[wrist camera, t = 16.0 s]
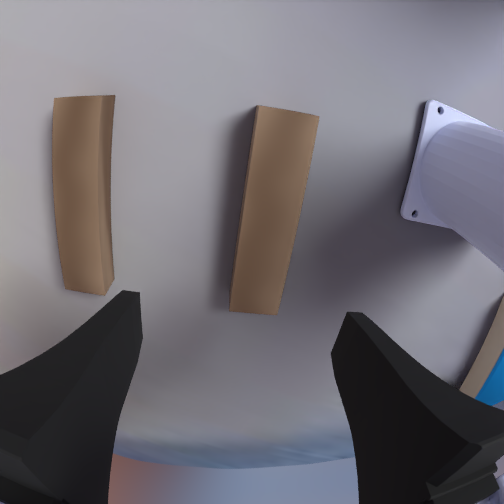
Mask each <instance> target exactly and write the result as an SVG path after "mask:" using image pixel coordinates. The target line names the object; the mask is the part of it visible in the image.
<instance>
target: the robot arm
mask: <svg viewBox="0 0 504 504" xmlns="http://www.w3.org/2000/svg"><path fill="white" fill-rule="evenodd" d="M438 107H440V113H438V110H437V109H438ZM414 210H416V212H415V214H414V215H412V212H413V211H414ZM400 214H401V216H402V217H403V218H404V219H406V220H411V221H416V222H421V223H426V224H431V225H436V226H441V227H445V228H450V229H453V230H454V231H455V232H457V233H458V234H459V235H461V236H462V237H463V238H464V239H466V240H467V241H468V242H469V243H471V244H472V245H473V246H474V247H476V248H477V249H478V250H479V251H480V252H482V253H483V254H484V255H485V256H486V257H488V258H489V259H490V260H491V261H492V262H493V263H495V264H496V265H497V266H498V267H499V268H500V269H501V270H503V271H504V131H502V130H499V129H495V128H492V127H490V126H488V125H486V124H485V123H483V122H481V121H479V120H477V119H475V118H473V117H471V116H469V115H467V114H465V113H462V112H460V111H458V110H456V109H454V108H452V107H449V106H447V105H445V104H443V103H440V102H438V101H436V100H428V101H427V102H426V105H425V110H424V116H423V121H422V126H421V130H420V135H419V140H418V144H417V149H416V153H415V157H414V161H413V165H412V169H411V173H410V177H409V181H408V185H407V188H406V192H405V196H404V199H403V203H402V206H401V210H400ZM142 339H143V334H142V322H141V308H140V292H132V291H125V290H122V291H121V292H120V293H119V294H118V295H116V296H115V297H114V298H113V299H112V300H111V301H110V302H108V303H107V304H106V305H105V306H104V307H103V308H102V309H101V310H99V311H98V312H97V313H96V314H95V315H94V316H92V317H91V318H90V319H89V320H88V321H87V322H85V323H84V324H83V325H82V326H81V327H79V328H78V329H77V330H75V331H74V332H73V333H72V334H70V335H69V336H68V337H67V338H65V339H64V340H62V341H61V342H60V343H58V344H57V345H55V346H54V347H52V348H51V349H49V350H47V351H46V352H44V353H43V354H41V355H39V356H38V357H36V358H34V359H32V360H30V361H28V362H26V363H24V364H23V365H21V366H19V367H17V368H15V369H13V370H10V371H8V372H6V373H4V374H1V375H0V504H108V490H109V480H110V470H111V462H112V454H113V448H114V442H115V436H116V430H117V425H118V421H119V417H120V413H121V410H122V407H123V404H124V401H125V398H126V395H127V392H128V389H129V386H130V383H131V380H132V377H133V374H134V371H135V368H136V365H137V362H138V358H139V353H140V349H141V344H142ZM331 358H332V364H333V370H334V376H335V380H336V383H337V386H338V390H339V393H340V396H341V399H342V403H343V406H344V409H345V412H346V416H347V419H348V422H349V425H350V430H351V434H352V439H353V445H354V451H355V458H356V467H357V475H358V491H359V504H504V474H502V475H501V476H499V477H498V478H496V479H495V476H494V474H493V473H495V472H496V471H497V466H496V464H495V462H496V461H497V460H498V459H500V457H502V456H503V455H504V411H503V410H500V409H498V408H495V407H492V406H490V405H487V404H485V403H483V402H481V401H478V400H476V399H474V398H472V397H470V396H468V395H466V394H464V393H463V392H461V391H459V390H458V389H456V388H454V387H452V386H451V385H449V384H448V383H446V382H444V381H443V380H441V379H440V378H439V377H437V376H436V375H434V374H433V373H432V372H430V371H429V370H427V369H426V368H425V367H424V366H422V365H421V364H420V363H419V362H417V361H416V360H415V359H414V358H413V357H411V356H410V355H409V354H408V353H407V352H406V351H404V350H403V349H402V348H401V347H400V346H399V345H398V344H397V343H396V342H394V341H393V340H392V339H391V338H390V337H389V336H388V335H387V334H386V333H385V332H384V331H383V330H382V329H380V328H379V327H378V326H377V325H376V324H375V323H374V322H373V321H372V320H371V319H369V318H368V317H367V316H366V315H364V314H363V313H360V312H347V313H346V316H345V319H344V321H343V324H342V326H341V329H340V331H339V334H338V337H337V339H336V342H335V344H334V346H333V349H332V351H331Z"/></svg>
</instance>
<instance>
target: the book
mask: <svg viewBox="0 0 504 504" xmlns="http://www.w3.org/2000/svg"><path fill="white" fill-rule="evenodd" d="M459 391H461V392H463V393H464V394H466V395H468V396H470V397H472V398H474V399H476V400H478V401H481V402H483V403H485V404H487V405H490V406H492V405H494V404H497V403H499V402H501V401H503V400H504V296H503V299H502V301H501V304H500V306H499V309H498V311H497V314H496V316H495V319H494V321H493V323H492V326H491V328H490V330H489V332H488V335H487V337H486V339H485V341H484V343H483V345H482V348H481V350H480V352H479V354H478V356H477V358H476V360H475V362H474V364H473V366H472V367H471V369H470V371H469V373H468V375H467V377H466V379H465V380H464V382H463V384H462V386H461V387H460V389H459Z"/></svg>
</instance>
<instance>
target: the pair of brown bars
mask: <svg viewBox="0 0 504 504" xmlns="http://www.w3.org/2000/svg"><path fill="white" fill-rule="evenodd" d="M114 103H115V95H106V96H77V97H62V98H54V107H53V130H52V170H53V193H54V208H55V219H56V229H57V238H58V246H59V254H60V261H61V267H62V273H63V279H64V285H65V289H68V290H73V291H79V292H85V293H92V294H98V295H104V296H105V295H106V293H107V291H108V289H109V288H110V286H111V284H112V282H113V281H114V269H113V255H112V236H111V147H112V128H113V114H114ZM318 122H319V116H315V115H311V114H306V113H300V112H295V111H289V110H284V109H278V108H272V107H265V106H259V105H257V107H256V113H255V120H254V126H253V133H252V139H251V146H250V152H249V159H248V166H247V172H246V179H245V186H244V193H243V200H242V207H241V214H240V221H239V228H238V235H237V242H236V249H235V257H234V264H233V271H232V279H231V286H230V298H229V311H233V312H244V313H255V314H267V315H277V314H278V309H279V305H280V301H281V297H282V293H283V288H284V284H285V280H286V276H287V271H288V267H289V263H290V258H291V254H292V249H293V245H294V240H295V236H296V231H297V226H298V222H299V217H300V212H301V208H302V203H303V198H304V193H305V189H306V184H307V179H308V174H309V169H310V164H311V159H312V153H313V148H314V143H315V138H316V132H317V127H318Z"/></svg>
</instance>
